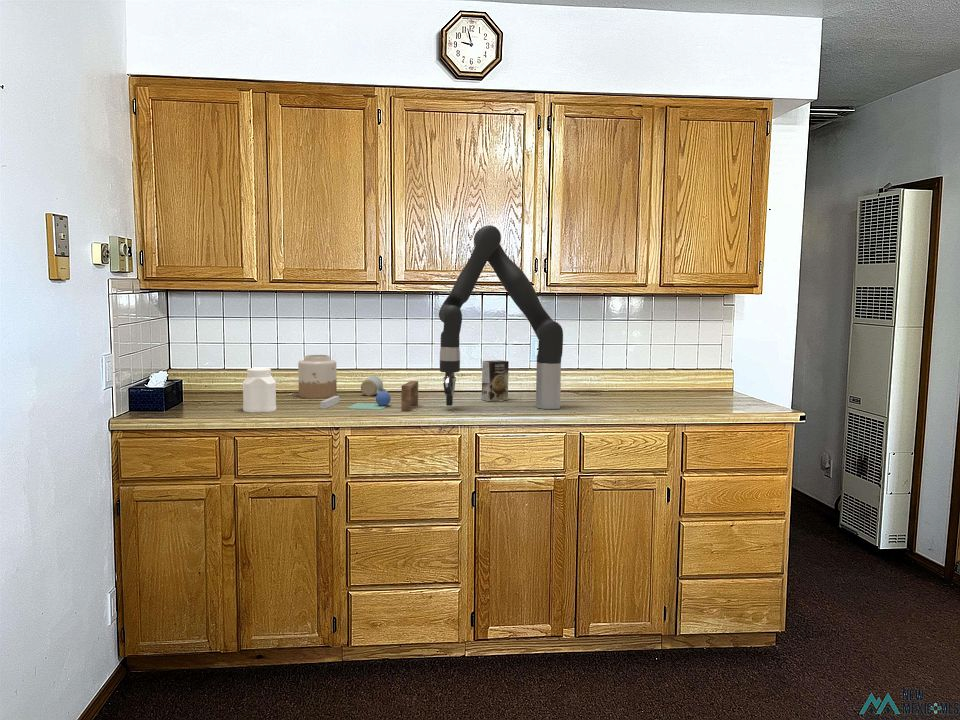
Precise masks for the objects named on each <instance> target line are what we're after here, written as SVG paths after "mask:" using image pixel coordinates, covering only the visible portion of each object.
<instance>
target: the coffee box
mask: <svg viewBox="0 0 960 720" xmlns="http://www.w3.org/2000/svg"><path fill="white" fill-rule="evenodd" d="M509 363H510V362H509V360H496V359H495V360H482V367H481V368H482V369H481V401H484V400H486V401H485V402H487V401H496V402H500V401H499V400H509V367H510V366H509Z"/></svg>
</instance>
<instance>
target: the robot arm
mask: <svg viewBox="0 0 960 720" xmlns="http://www.w3.org/2000/svg"><path fill="white" fill-rule="evenodd" d="M501 240H502V233H501V231H500V230H499V229H498V228H497V227H496V226H494V225H491V224H489V225H485V226H484V225H483V226H482V227H481V228H480V229H478V230H477V231H476V232H475V233H474V236H473V243H474V248H473V250H472V253H471V255H470V256H469V258H468V260H467V262H466V264H465V266H464V267H463V268H462V270H461V272H460V273H459V275H458V276H457V278H456V281H455V283H454V285H453V287H452V289H451V291H450V293H449V295H448V296H447V297H446V298H445V300H444V301H443V303H442V304H441V307H440V308H439V312H438V319H439V320H440V321H441V322H442V323H443V327H442V328H443V330H442V332H441V334H440V348H439V372H441V373H444V374H445V375H444V377H443V384H442V385H443V390H444V391H443V392H444V396H445V399H446V401H445V404H446V406H449V407H451V406H453V405H454V404H453V403H454V401H453V400H454V398H453V397H454V394H455V388H456V382H457V380H456V376H455V373H460V372H461V351H460V340H461V339H460V332H461V331H462V329H461V328H462V322H463V314H462V310H461V308H462V306H463V305H464V304H465V303H467V301H468V300H469V299H470V297H471V295H472V293H473V291H474V288H476V284H477V282H478V280H479V278H480V276H481V273H482V272H483V270H484V268H485V266H486V264H487V263H489V265H490V266H491V268H492V270H493V272H494V273H495V275H496V276H497V278H498V280H499V281H500V283H501V284H502V286H503V288H504V289H505V291H506V292H507V295H509V297H510V298H511V299H512V301H513V302H514V304H515V305H516V307H518V309H519V310H520V311H521V312H522V313H523V315H524V316H525V317H526V319H527V321H528V322H529V324H530V326H531V327H532V330H533V331H534V334H535V335H536V338H537V339H538V343H537V344H538V347H537V349H538V350H537V354H536V377H535V378H536V379H535V380H536V383H535V384H536V385H535V407H536V408H537V409H544V410H558V409H559V410H560V409H561V393H562V392H561V386H562V384H561V383H562V380H561V376H562V375H561V374H562V357H563V347H564V346H563V345H564V332H563V327H562V326H561V324H560V323H559V322H557V321H555V320H554V319H553V318H552V317H551V316H550V315H549V314H548V313H547V311H546V310H545V309H544V307H543V305H542V304H541V302H540V298H539V296H538V294H537V292H536V290H535V288H534V286H533V285H532V283H531V281H530V279H529V278H528V277H527V275H526V274H525V273H524V271H523V270H522V269H521V268H520V267H519V266H518V265H517V264H516V263H515V262H514V261H512V259H511V258H510V257H509V256H508V255H507V254H506V252H505V250H504V249H503V247H502V245H501Z"/></svg>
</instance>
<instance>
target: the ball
mask: <svg viewBox="0 0 960 720" xmlns="http://www.w3.org/2000/svg"><path fill="white" fill-rule="evenodd" d="M387 392H388V391H387ZM387 392H384V391H383V392H382V391H381V392H379V393H378V394H376V395H375V402H376V404H378V405H380V406H386V405H388V404H390V403H391V395H390V393H387ZM388 406H389V405H388ZM386 407H387V406H386Z"/></svg>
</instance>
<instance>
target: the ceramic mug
mask: <svg viewBox="0 0 960 720" xmlns="http://www.w3.org/2000/svg"><path fill="white" fill-rule="evenodd" d="M383 383H384V382H383V381H382V380H381V378H379V377H378V376H375V375H372V376H369V377H368V378H366V379H364V380H363V381H362V382H361V384H360V390H361V393H362V394H363V395H364V396H367V397H373V396H377V394H378V393H379V392H383V391H384V392H387V393H388V390H386V388H383V387H384V384H383ZM388 394H389V393H388Z"/></svg>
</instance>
